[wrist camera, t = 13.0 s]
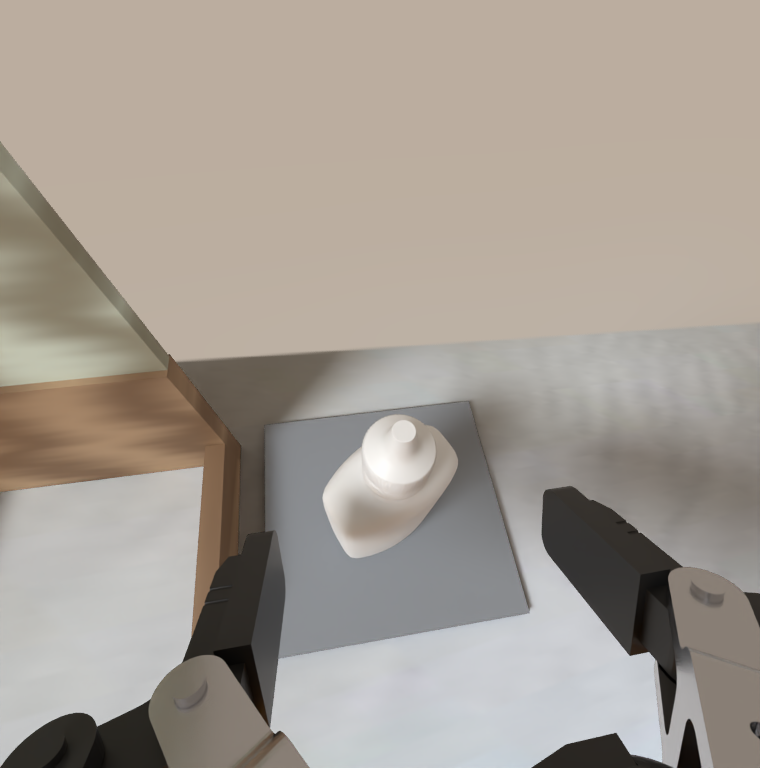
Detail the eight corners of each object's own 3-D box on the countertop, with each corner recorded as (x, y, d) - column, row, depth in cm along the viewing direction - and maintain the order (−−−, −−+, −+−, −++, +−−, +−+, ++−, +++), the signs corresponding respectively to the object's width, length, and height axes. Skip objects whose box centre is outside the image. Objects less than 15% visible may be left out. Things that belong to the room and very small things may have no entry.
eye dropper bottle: (331, 478, 22) (305, 370, 12) (427, 472, 23) (483, 362, 12) (333, 561, 20) (303, 517, 10) (439, 552, 21) (518, 501, 10)
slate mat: (267, 659, 18) (265, 660, 18) (265, 427, 24) (264, 425, 24) (526, 612, 20) (529, 612, 20) (467, 403, 26) (468, 401, 25)
